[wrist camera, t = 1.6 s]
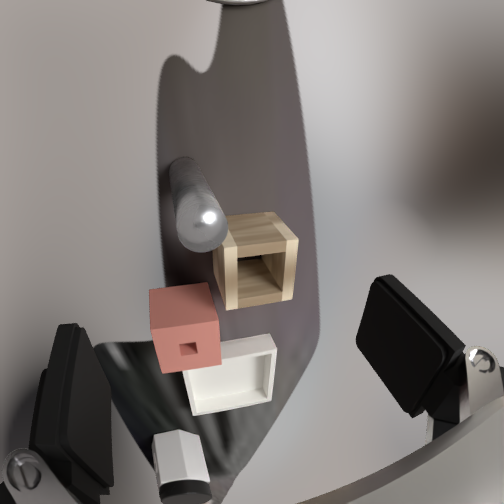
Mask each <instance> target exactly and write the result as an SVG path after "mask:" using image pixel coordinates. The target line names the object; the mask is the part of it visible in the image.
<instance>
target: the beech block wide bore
mask: <svg viewBox="0 0 504 504" xmlns="http://www.w3.org/2000/svg"><path fill="white" fill-rule="evenodd" d="M225 217H226V219H227V222H228V233H227V236H226V238H225V240H224V241H223V242H222V244H221V245H220V246H218V247H217V248H215V249H214V250H213V269H214V275H215V278H216V281H217V284H218V287H219V290H220V293H221V296H222V299H223V302H224V305H225V308H226V310H231V309H238V308H244V307H250V306H256V305H262V304H268V303H274V302H279V301H285V300H290V299H292V296H293V288H294V278H295V269H296V259H297V250H298V238H297V237H296V236H295V235H294V234H293V233H292V231H291V230H290V229H289V228H288V227H287V226H286V225H285V224H284V223H283V221H282V220H281V219H280V218H279V217H278V216H277V215H276V214H275V213H274V212H262V213H251V214H241V215H230V216H225ZM256 255H262V258H259V259H251V260H243V261H237V258H241V257H248V256H256Z"/></svg>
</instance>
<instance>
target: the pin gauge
mask: <svg viewBox="0 0 504 504" xmlns="http://www.w3.org/2000/svg"><path fill="white" fill-rule="evenodd" d="M169 177H170V185H171V192H172V200H173V207H174V214H175V221H176V227H177V233H178V238H179V240H180V242H181V243H182V244H183V246H185V247H186V248H187V249H189V250H191V251H194V252H208V251H211V250H214V249H215V248H217V247H218V246H220V245H221V244H222V242H223V241H224V240H225V238H226V236H227V233H228V222H227V219H226V217H225V215H224V213H223V211H222V209H221V207H220V206H219V204H218V202H217V200H216V198H215V196H214V194H213V192H212V191H211V189H210V187H209V185H208V183H207V181H206V179H205V177H204V176H203V174H202V172H201V170H200V168H199V166H198V164H197V163H196V162H195V161H194V160H193V159H191V158H189V157H181V158H178V159H176V160H175V161H174V162H173V163H172V164H171V166H170V169H169Z"/></svg>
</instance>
